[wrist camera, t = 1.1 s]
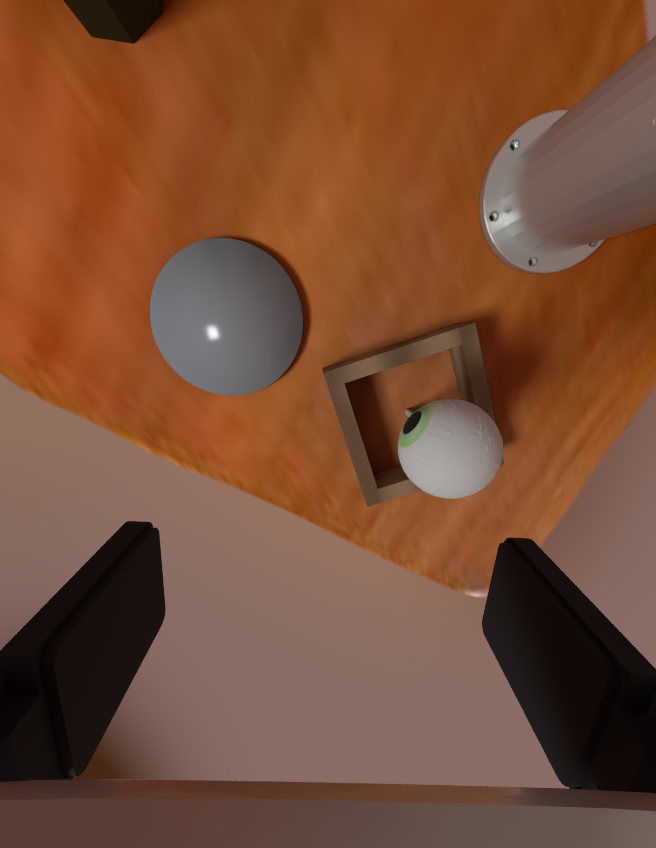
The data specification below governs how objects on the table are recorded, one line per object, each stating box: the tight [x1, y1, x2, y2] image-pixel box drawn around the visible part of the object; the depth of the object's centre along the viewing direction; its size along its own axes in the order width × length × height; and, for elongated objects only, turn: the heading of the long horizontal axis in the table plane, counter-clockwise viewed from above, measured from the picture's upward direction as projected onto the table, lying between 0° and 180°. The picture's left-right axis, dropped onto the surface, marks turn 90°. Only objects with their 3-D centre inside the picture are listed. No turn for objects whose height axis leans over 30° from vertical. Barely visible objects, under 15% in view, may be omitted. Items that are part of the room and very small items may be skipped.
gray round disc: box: [150, 238, 303, 395], centre depth 33 cm, size 14×14×1 cm
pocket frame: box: [323, 322, 504, 507], centre depth 35 cm, size 14×14×4 cm
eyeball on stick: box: [398, 399, 503, 499], centre depth 30 cm, size 7×7×15 cm
